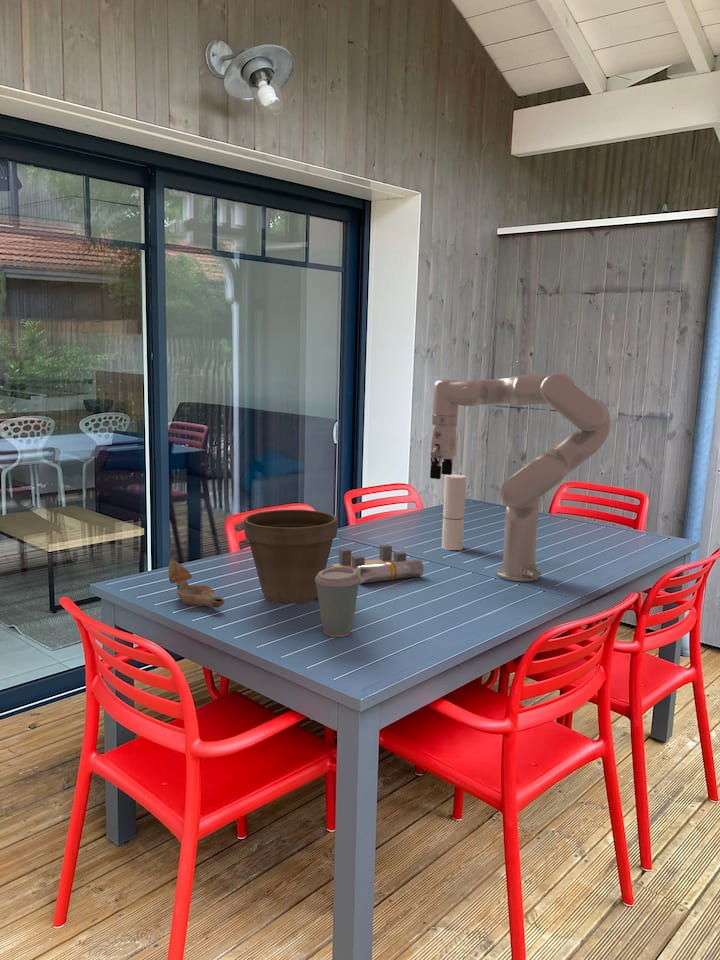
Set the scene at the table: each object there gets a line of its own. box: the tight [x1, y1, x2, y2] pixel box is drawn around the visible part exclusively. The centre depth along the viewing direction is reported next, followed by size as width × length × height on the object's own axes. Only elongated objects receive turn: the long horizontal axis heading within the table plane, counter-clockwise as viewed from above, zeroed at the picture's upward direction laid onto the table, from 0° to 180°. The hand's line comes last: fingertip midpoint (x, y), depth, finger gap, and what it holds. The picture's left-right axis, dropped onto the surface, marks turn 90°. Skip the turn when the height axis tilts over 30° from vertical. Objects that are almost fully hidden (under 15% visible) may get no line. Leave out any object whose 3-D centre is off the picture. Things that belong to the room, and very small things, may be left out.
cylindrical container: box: [441, 473, 467, 551], centre depth 261 cm, size 7×7×25 cm
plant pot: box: [243, 509, 338, 605], centre depth 206 cm, size 25×25×22 cm
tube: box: [356, 558, 425, 585], centre depth 224 cm, size 20×5×5 cm, turn 116°
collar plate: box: [330, 544, 407, 569], centre depth 234 cm, size 11×22×6 cm, turn 116°
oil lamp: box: [167, 558, 226, 609], centre depth 199 cm, size 9×21×10 cm, turn 49°
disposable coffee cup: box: [315, 566, 360, 638], centre depth 180 cm, size 11×11×15 cm
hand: (440, 476), depth 237 cm, fingers open, 9 cm apart
